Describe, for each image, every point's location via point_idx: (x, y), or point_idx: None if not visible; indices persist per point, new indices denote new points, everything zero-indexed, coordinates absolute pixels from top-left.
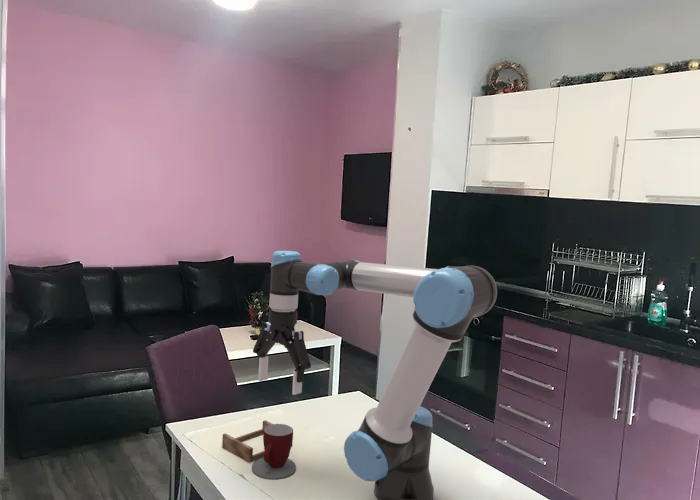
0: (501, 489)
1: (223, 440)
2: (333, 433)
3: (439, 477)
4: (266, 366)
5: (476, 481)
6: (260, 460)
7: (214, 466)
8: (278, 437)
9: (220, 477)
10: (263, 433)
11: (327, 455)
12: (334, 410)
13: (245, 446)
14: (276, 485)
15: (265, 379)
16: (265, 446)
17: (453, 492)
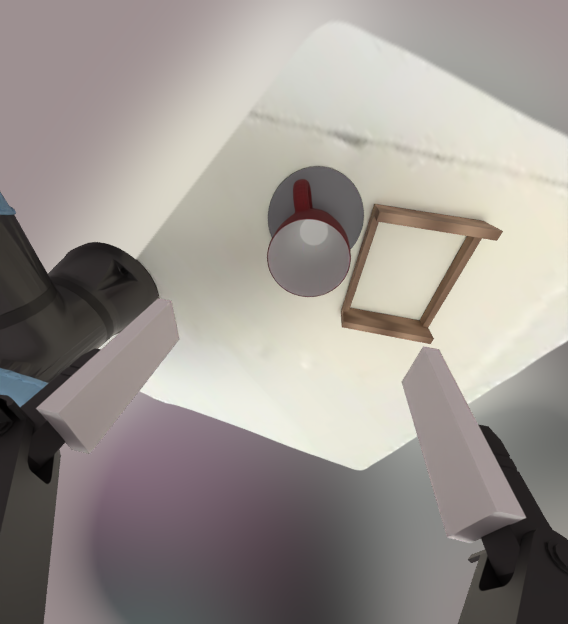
0: None
1: (489, 225)
2: (311, 375)
3: None
4: (429, 446)
5: None
6: (354, 223)
7: (449, 122)
8: (280, 227)
9: (398, 83)
10: (339, 228)
11: (271, 317)
12: (356, 427)
13: (400, 215)
14: (262, 164)
15: (407, 374)
16: (324, 212)
17: None
